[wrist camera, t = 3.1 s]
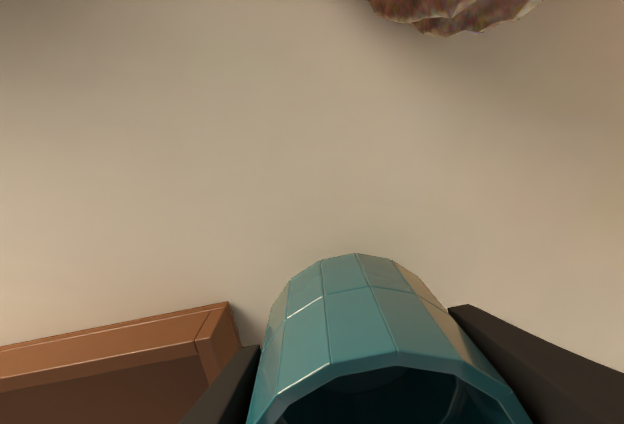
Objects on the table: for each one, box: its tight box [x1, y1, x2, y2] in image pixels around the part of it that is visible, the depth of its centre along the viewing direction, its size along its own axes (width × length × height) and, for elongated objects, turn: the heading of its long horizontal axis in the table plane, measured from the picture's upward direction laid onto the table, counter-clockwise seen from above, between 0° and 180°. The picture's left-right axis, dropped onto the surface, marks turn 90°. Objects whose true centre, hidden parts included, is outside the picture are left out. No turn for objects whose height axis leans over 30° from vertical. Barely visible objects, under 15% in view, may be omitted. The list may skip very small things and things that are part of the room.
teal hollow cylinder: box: [246, 253, 534, 424], centre depth 8 cm, size 6×6×5 cm
